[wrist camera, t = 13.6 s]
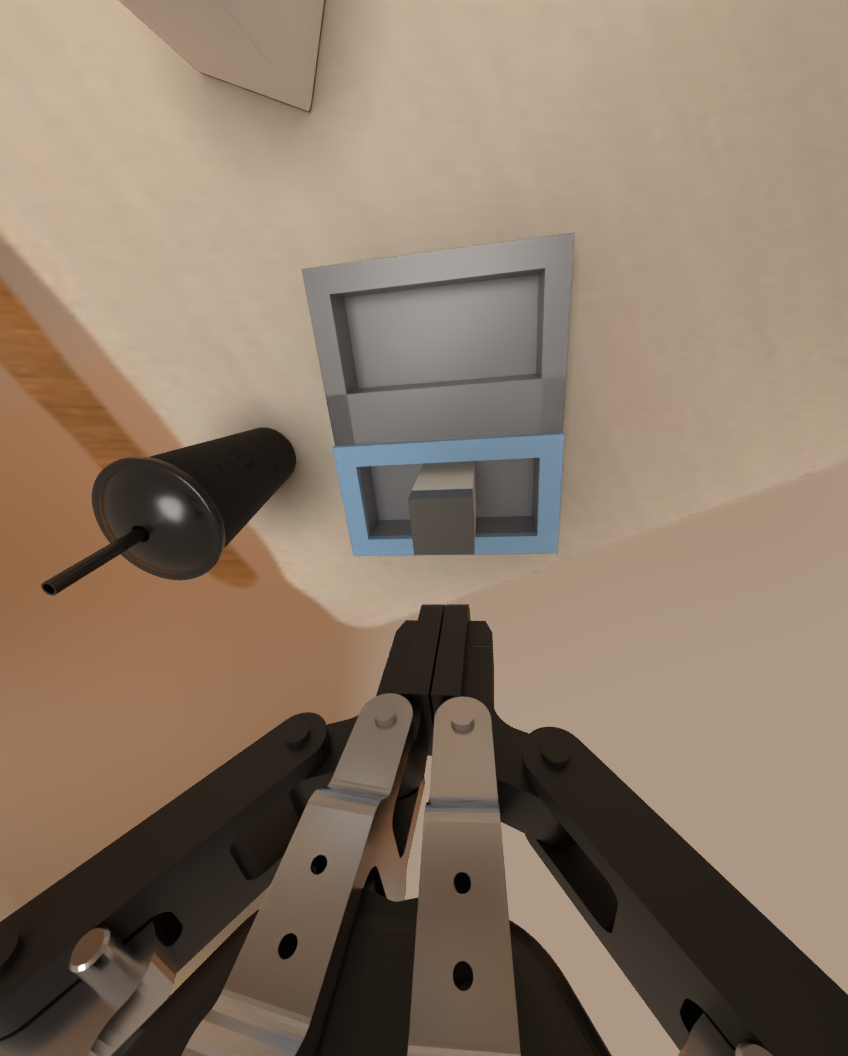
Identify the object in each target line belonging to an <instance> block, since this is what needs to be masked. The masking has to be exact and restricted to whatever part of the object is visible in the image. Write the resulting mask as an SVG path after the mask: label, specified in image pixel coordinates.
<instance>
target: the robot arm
mask: <svg viewBox="0 0 848 1056" xmlns="http://www.w3.org/2000/svg"><path fill="white" fill-rule="evenodd" d="M493 662H494V661H493V641H492V632H491V630H490V628H489V627H488V625H487V623H486V621H470V609H469V605H446V606H445V605H422V606H421V609H420V613H419V618H418V621H412V620H406V621H405V622H404V623H403V624H402V625H401V627H400V628H399V629H398V630H397V631H396V634H395V637H394V640H393V644H392V647H391V650H390V653H389V657H388V660H387V663H386V666H385V669H384V672H383V676H382V679H381V682H380V685H379V689H378V692H377V695H376V697H374V698H373V699H371V700H370V701H368V702H367V703H366V704H365V706H364V707H363V708H362V710H361V711H360V714H359V715H358V716H356V717H354V718H351V719H348V720H344V721H340V722H336V723H332V724H328V725H326V723H325V721H324V719H323V718H322V717H321V716H320V715H317V714H315V713H300V714H297V715H294V716H292V717H290V718H289V719H287V720H286V721H284V722H283V723H281V724H280V725H278V726H277V727H276V728H274V729H273V730H271V731H270V732H269V733H267V734H266V735H264V736H263V737H261V738H260V739H259V740H257V741H256V742H254V743H253V744H252V745H250V746H249V747H247V748H246V749H244V750H243V751H242V752H240V753H239V754H237V755H236V756H234V757H233V758H232V759H230V760H229V761H227V762H226V763H225V764H223V765H222V766H220V767H219V768H218V769H216V770H215V771H213V772H212V773H210V774H209V775H208V776H206V777H205V778H203V779H202V780H201V781H199V782H198V783H196V784H195V785H193V786H192V787H191V788H189V789H188V790H186V791H185V792H184V793H182V794H181V795H179V796H178V797H176V798H175V799H174V800H172V801H171V802H169V803H168V804H167V805H165V806H164V807H162V808H161V809H160V810H158V811H157V812H155V813H154V814H153V815H151V816H150V817H148V818H147V819H145V820H144V821H143V822H141V823H140V824H138V825H137V826H135V827H134V828H133V829H131V830H130V831H128V832H127V833H126V834H124V835H123V836H121V837H120V838H119V839H117V840H116V841H114V842H113V843H111V844H110V845H109V846H107V847H106V848H104V849H103V850H102V851H100V852H99V853H97V854H96V855H94V856H93V857H92V858H90V859H89V860H87V861H86V862H85V863H83V864H82V865H80V866H79V867H77V868H76V869H75V870H74V871H72V872H71V873H69V874H68V875H66V876H65V877H64V878H62V879H60V880H59V881H58V882H56V883H55V884H53V885H52V886H51V887H49V888H48V889H46V890H45V891H43V892H42V893H41V894H39V895H38V896H36V897H35V898H34V899H32V900H31V901H29V902H28V903H27V904H25V905H24V906H22V907H21V908H19V909H18V910H17V911H15V912H14V913H12V914H11V915H10V916H8V917H7V918H6V919H4V920H2V921H1V922H0V1056H611V1054H610V1052H609V1051H608V1049H607V1047H606V1045H605V1044H604V1042H603V1040H602V1039H601V1037H600V1035H599V1033H598V1032H597V1030H596V1029H595V1027H594V1025H593V1023H592V1022H591V1020H590V1018H589V1016H588V1015H587V1013H586V1012H585V1010H584V1008H583V1006H582V1005H581V1003H580V1001H579V1000H578V998H577V996H576V994H575V993H574V991H573V989H572V988H571V986H570V984H569V983H568V981H567V979H566V978H565V976H564V975H563V973H562V971H561V970H560V968H559V967H558V966H557V964H556V963H555V962H554V960H553V959H552V958H551V956H550V955H549V954H548V953H547V951H546V950H545V949H544V948H543V947H542V946H541V945H540V944H539V943H538V942H537V940H535V939H534V938H533V937H532V936H531V935H529V933H527V932H526V931H525V930H524V929H522V928H521V927H519V926H518V925H516V924H515V923H513V922H512V921H510V920H509V914H508V902H507V891H506V879H505V868H504V856H503V844H502V833H501V822H503V823H505V824H507V825H509V826H511V827H513V828H515V829H517V830H519V831H521V832H523V833H525V835H526V837H527V839H528V841H529V843H530V845H531V846H532V847H533V849H534V850H535V851H536V853H537V854H538V855H539V857H540V858H541V860H542V861H543V862H544V864H545V865H546V867H547V868H548V869H549V871H550V872H551V874H552V875H553V876H554V878H555V879H556V880H557V882H558V883H559V885H560V886H561V887H562V889H563V890H564V891H565V893H566V894H567V896H568V897H569V898H570V900H571V901H572V902H573V904H574V905H575V907H576V908H577V909H578V911H579V912H580V913H581V915H582V916H583V917H584V919H585V920H586V922H587V923H588V925H589V926H590V927H591V929H592V930H593V931H594V933H595V934H596V936H597V937H598V938H599V940H600V941H601V942H602V944H603V945H604V946H605V948H606V949H607V951H608V952H609V953H610V955H611V956H612V958H613V959H614V960H615V962H616V963H617V964H618V966H619V967H620V969H621V970H622V971H623V973H624V974H625V976H626V977H627V978H628V980H629V981H630V982H631V984H632V985H633V986H634V988H635V989H636V991H637V992H638V993H639V995H640V996H641V997H642V999H643V1000H644V1002H645V1003H646V1004H647V1006H648V1007H649V1009H650V1010H651V1011H652V1013H653V1014H654V1015H655V1017H656V1018H657V1019H658V1021H659V1022H660V1024H661V1025H662V1027H663V1028H664V1029H665V1031H666V1032H667V1033H668V1035H669V1036H670V1037H671V1039H672V1040H673V1042H674V1043H675V1044H676V1046H677V1047H678V1048H679V1050H680V1053H679V1055H678V1056H848V995H847V994H846V993H845V992H844V991H843V990H842V989H841V988H840V987H839V986H838V985H837V984H836V983H835V982H834V981H833V980H832V979H831V978H830V977H828V976H827V975H826V974H825V973H824V972H823V971H822V970H821V969H820V968H819V967H818V966H817V965H816V964H815V963H814V962H813V961H812V960H811V959H809V958H808V957H807V956H806V955H805V954H804V953H803V952H802V951H801V950H800V949H799V948H798V947H797V946H796V945H795V944H794V943H793V942H792V941H791V940H789V939H788V938H787V937H786V936H785V935H784V934H783V933H782V932H781V931H780V930H779V929H778V928H777V927H776V926H775V925H774V924H773V923H772V922H771V921H769V920H768V919H767V918H766V917H765V916H764V915H763V914H762V913H761V912H760V911H759V910H758V909H757V908H756V907H755V906H754V905H752V904H751V903H750V902H749V901H748V900H747V899H746V898H745V897H744V896H743V895H742V894H741V893H740V892H739V891H738V890H737V889H736V888H735V887H733V886H732V884H730V883H729V882H728V881H727V880H726V879H725V878H724V877H723V876H722V875H721V874H720V873H719V872H718V871H717V870H716V869H715V868H714V867H713V866H711V865H710V864H709V863H708V862H707V861H706V860H705V859H704V858H703V857H702V856H701V855H700V854H699V853H698V852H697V851H696V850H694V848H693V847H691V846H690V845H689V844H688V843H687V842H686V841H685V840H684V839H683V838H682V837H681V836H680V835H679V834H678V833H677V832H676V831H675V830H674V829H672V828H671V827H670V826H669V825H668V824H667V823H666V822H665V821H664V820H663V819H662V818H661V817H660V816H659V815H658V814H657V813H655V812H654V810H652V809H651V808H650V807H649V806H648V805H647V804H646V803H645V802H644V801H643V800H642V799H641V798H640V797H639V796H638V795H637V794H636V793H635V792H633V791H632V790H631V789H630V788H629V787H628V786H627V785H626V784H625V783H624V782H623V781H622V780H621V779H620V778H619V777H617V775H616V774H615V773H613V772H612V771H611V770H610V769H609V768H608V767H607V766H606V765H605V764H604V763H603V762H602V761H601V760H600V759H599V758H598V757H597V756H596V755H595V754H593V753H592V752H591V751H590V750H589V749H588V748H587V747H586V746H585V745H584V744H583V743H582V742H581V741H580V740H579V739H578V738H576V737H575V736H574V735H573V734H571V733H569V732H568V731H565V730H563V729H560V728H556V727H543V728H539V729H536V730H534V731H533V732H531V733H530V734H528V733H526V732H523V731H520V730H518V729H515V728H513V727H510V726H509V725H508V724H506V723H505V722H503V721H502V720H501V719H500V718H499V716H498V715H497V714H496V712H495V710H494V663H493ZM427 755H430V756H432V765H431V766H432V767H431V783H430V797H429V802H427V803H426V806H425V813H424V824H423V839H422V853H421V868H420V882H419V897H418V898H414V899H409V900H405V893H406V871H407V864H408V859H409V854H410V849H411V845H412V840H413V835H414V831H415V827H416V822H417V817H418V813H419V809H420V804H421V799H422V795H423V790H424V785H425V778H424V773H425V767H426V760H427ZM269 885H270V887H269V889H268V891H267V894H266V896H265V898H264V900H263V903H262V905H261V907H260V909H259V910H257V911H256V912H255V913H254V914H252V915H251V916H250V917H249V918H248V919H246V920H245V921H244V922H243V923H242V924H241V925H240V926H239V927H238V928H237V929H236V930H235V931H234V932H233V933H232V934H231V935H230V936H229V937H228V938H227V939H226V940H225V941H224V942H223V943H222V944H221V945H220V946H219V947H218V948H217V949H216V950H215V951H214V952H213V953H212V954H211V955H210V956H209V957H208V958H207V959H206V960H205V961H204V962H203V963H202V964H201V965H200V966H199V967H198V968H197V969H196V970H195V972H194V973H192V974H191V975H190V976H189V978H188V979H187V980H185V981H184V983H182V985H181V986H180V987H179V988H178V989H177V990H176V991H175V992H174V993H173V994H172V995H171V996H170V992H171V990H172V987H173V984H174V980H175V977H176V973H177V972H178V971H179V970H180V969H181V968H182V967H183V966H185V964H187V962H189V961H190V960H191V959H192V958H193V957H194V956H195V955H196V954H197V953H198V952H199V951H200V950H201V949H203V948H204V947H205V946H206V945H207V944H208V943H209V942H210V941H211V940H212V939H213V938H214V937H215V936H216V935H217V934H219V933H220V932H221V931H222V930H223V929H224V928H225V927H226V926H227V925H228V924H229V923H230V922H231V921H232V920H233V919H234V918H236V917H237V916H238V915H239V914H240V913H241V912H242V911H243V910H244V909H245V908H246V907H247V906H248V905H249V904H250V903H251V902H253V901H254V900H255V899H256V898H257V897H258V896H259V895H260V894H261V893H262V892H263V891H264V890H265V889H266V888H267V887H268V886H269Z"/></svg>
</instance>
